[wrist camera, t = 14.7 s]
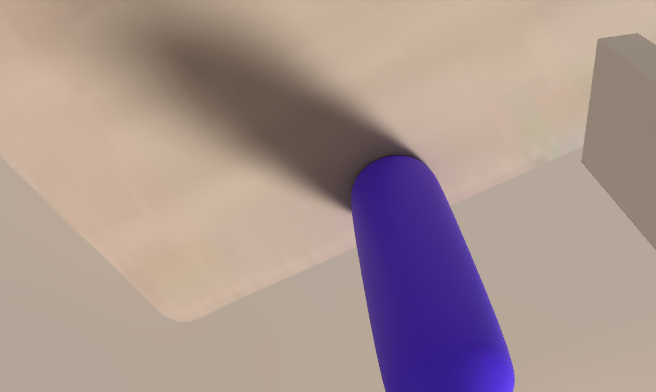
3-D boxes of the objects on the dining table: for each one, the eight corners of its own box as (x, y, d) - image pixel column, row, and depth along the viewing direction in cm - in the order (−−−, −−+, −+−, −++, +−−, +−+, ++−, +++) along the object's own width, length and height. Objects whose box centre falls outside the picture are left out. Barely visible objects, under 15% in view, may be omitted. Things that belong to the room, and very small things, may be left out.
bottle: (338, 164, 53) (390, 491, 28) (430, 140, 52) (570, 452, 27) (359, 236, 57) (421, 574, 32) (445, 215, 56) (576, 542, 31)
